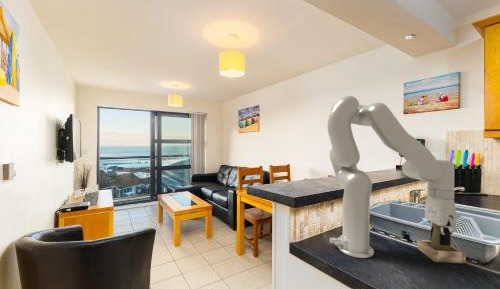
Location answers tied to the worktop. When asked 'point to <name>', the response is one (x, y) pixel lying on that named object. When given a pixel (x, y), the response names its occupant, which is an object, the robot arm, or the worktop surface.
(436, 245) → the cork
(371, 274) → the worktop surface
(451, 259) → the socket block
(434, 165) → the robot arm
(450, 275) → the worktop surface
